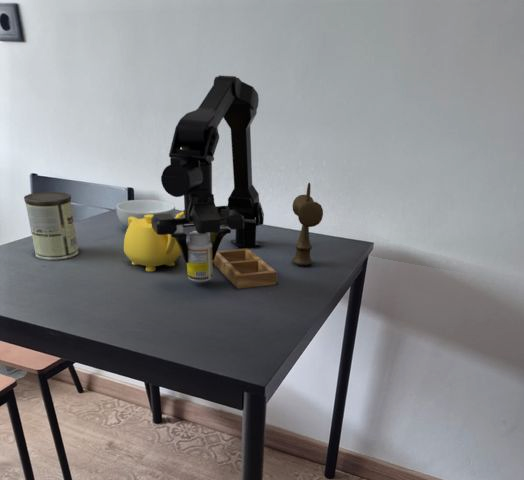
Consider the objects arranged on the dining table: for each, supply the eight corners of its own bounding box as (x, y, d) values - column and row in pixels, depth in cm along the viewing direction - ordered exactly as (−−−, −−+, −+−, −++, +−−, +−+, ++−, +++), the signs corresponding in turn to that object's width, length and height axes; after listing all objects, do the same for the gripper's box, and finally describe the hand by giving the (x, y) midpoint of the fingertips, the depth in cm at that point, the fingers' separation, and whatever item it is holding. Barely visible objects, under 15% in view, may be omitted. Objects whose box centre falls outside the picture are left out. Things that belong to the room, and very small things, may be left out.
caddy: (212, 263, 121) (212, 251, 119) (247, 259, 124) (247, 248, 123) (237, 288, 107) (238, 276, 105) (276, 284, 110) (276, 271, 109)
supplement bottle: (200, 272, 111) (199, 227, 106) (217, 278, 108) (217, 233, 103) (182, 278, 107) (180, 232, 102) (199, 285, 104) (198, 238, 99)
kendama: (294, 270, 119) (300, 186, 109) (287, 257, 127) (293, 178, 117) (317, 270, 120) (326, 187, 110) (309, 257, 128) (317, 179, 118)
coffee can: (36, 248, 124) (25, 191, 117) (79, 246, 127) (71, 191, 120) (33, 261, 116) (21, 201, 109) (78, 259, 119) (70, 200, 112)
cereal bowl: (170, 239, 136) (169, 214, 133) (111, 236, 136) (108, 210, 133) (180, 223, 151) (179, 200, 148) (126, 220, 151) (124, 197, 147)
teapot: (182, 274, 113) (180, 224, 107) (120, 273, 112) (115, 222, 106) (187, 255, 125) (185, 208, 119) (130, 253, 124) (126, 206, 118)
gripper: (161, 198, 88) (165, 278, 96) (255, 193, 95) (252, 269, 103) (148, 185, 97) (153, 260, 104) (235, 182, 104) (234, 252, 111)
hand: (199, 261), depth 105 cm, fingers closed on supplement bottle, 5 cm apart
